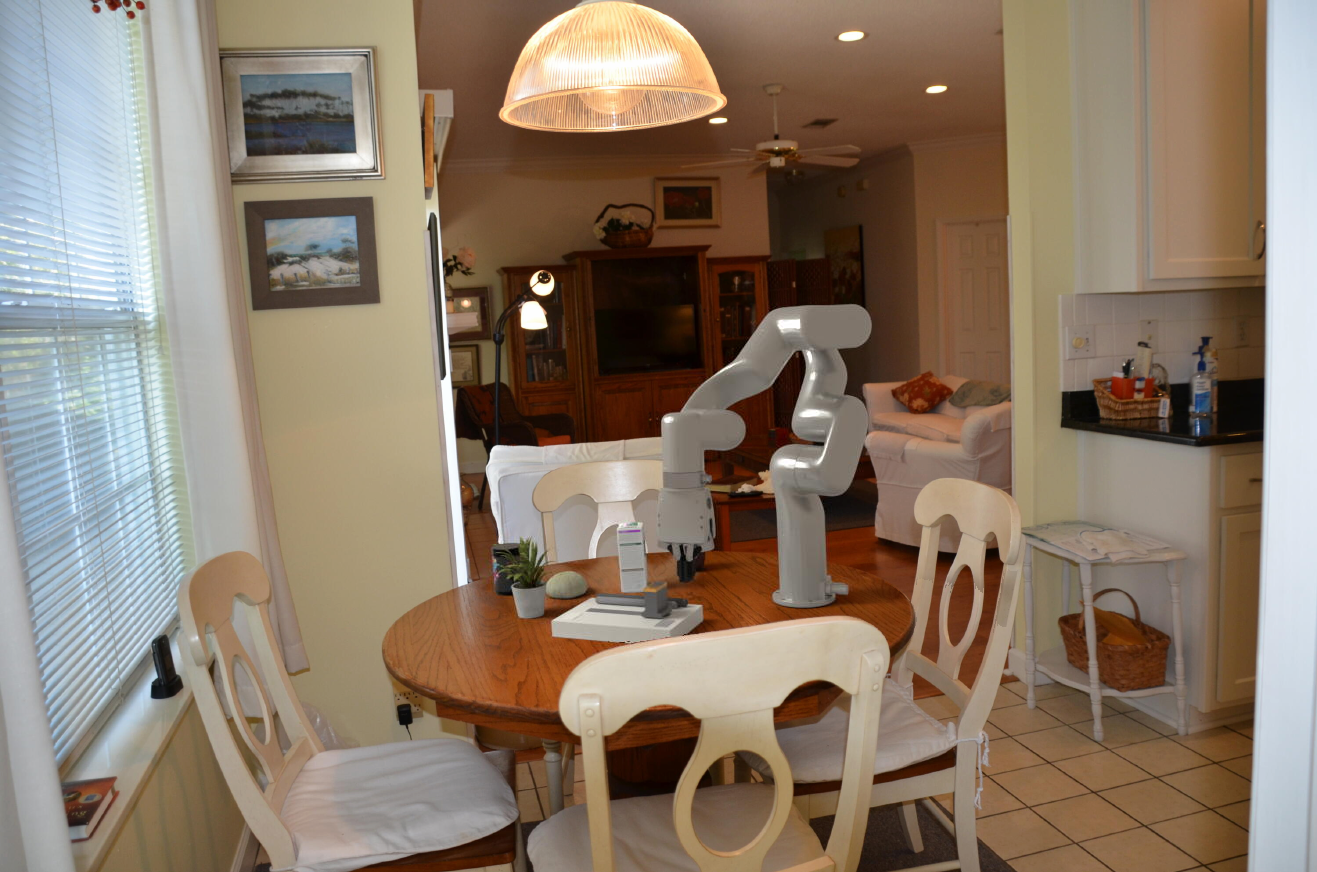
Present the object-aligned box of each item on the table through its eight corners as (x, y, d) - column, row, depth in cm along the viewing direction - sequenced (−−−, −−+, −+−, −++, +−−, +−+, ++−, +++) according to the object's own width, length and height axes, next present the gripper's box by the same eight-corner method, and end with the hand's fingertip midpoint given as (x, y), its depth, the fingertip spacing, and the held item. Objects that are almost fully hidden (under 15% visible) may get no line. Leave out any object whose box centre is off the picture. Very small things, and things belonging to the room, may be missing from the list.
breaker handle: (672, 610, 175) (670, 582, 174) (661, 618, 170) (659, 589, 170) (652, 608, 176) (651, 581, 176) (641, 616, 172) (639, 588, 171)
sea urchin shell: (535, 591, 199) (546, 559, 204) (549, 609, 205) (560, 578, 210) (573, 593, 196) (583, 561, 201) (586, 612, 202) (596, 580, 206)
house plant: (485, 610, 194) (479, 533, 192) (549, 600, 199) (544, 524, 197) (501, 628, 180) (495, 545, 179) (569, 616, 186) (564, 536, 184)
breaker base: (703, 620, 178) (701, 596, 178) (670, 646, 164) (669, 621, 163) (592, 612, 188) (590, 589, 188) (552, 636, 174) (550, 612, 173)
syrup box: (647, 592, 201) (643, 526, 200) (620, 593, 201) (616, 527, 200) (648, 585, 207) (644, 521, 205) (621, 586, 207) (618, 522, 206)
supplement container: (510, 586, 212) (507, 541, 211) (531, 589, 208) (528, 544, 207) (488, 593, 207) (485, 547, 206) (509, 597, 203) (506, 550, 202)
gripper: (729, 479, 168) (732, 579, 170) (654, 477, 174) (657, 573, 176) (715, 484, 161) (718, 588, 163) (637, 482, 167) (640, 582, 169)
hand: (686, 580), depth 169 cm, fingers closed
